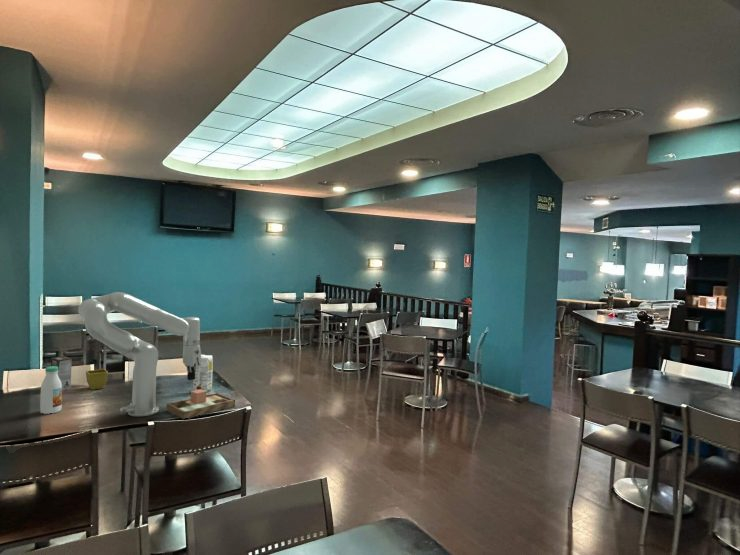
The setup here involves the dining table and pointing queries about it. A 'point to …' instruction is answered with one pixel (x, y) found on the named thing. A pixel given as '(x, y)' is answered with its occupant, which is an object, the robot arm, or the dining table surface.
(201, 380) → the juice carton
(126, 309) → the robot arm
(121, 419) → the dining table surface
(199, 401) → the block
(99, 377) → the flower pot
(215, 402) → the tray
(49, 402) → the milk bottle
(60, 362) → the coffee box
